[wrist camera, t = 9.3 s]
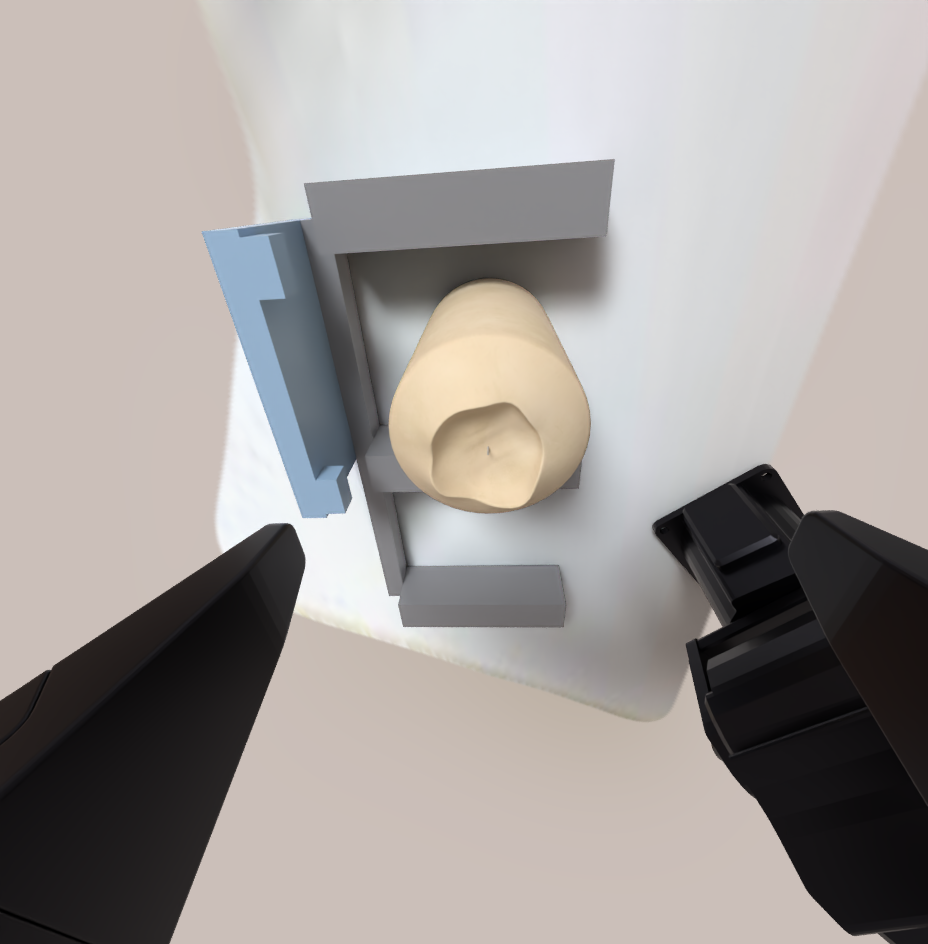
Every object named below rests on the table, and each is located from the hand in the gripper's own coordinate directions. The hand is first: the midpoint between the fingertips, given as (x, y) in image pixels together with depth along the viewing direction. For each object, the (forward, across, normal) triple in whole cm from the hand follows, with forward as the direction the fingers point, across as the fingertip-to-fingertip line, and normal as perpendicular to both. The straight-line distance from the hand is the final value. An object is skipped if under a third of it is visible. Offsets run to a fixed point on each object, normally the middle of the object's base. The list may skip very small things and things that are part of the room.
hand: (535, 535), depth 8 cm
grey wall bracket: (+13, +3, +5) cm, 14 cm away
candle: (+13, +1, 0) cm, 13 cm away
